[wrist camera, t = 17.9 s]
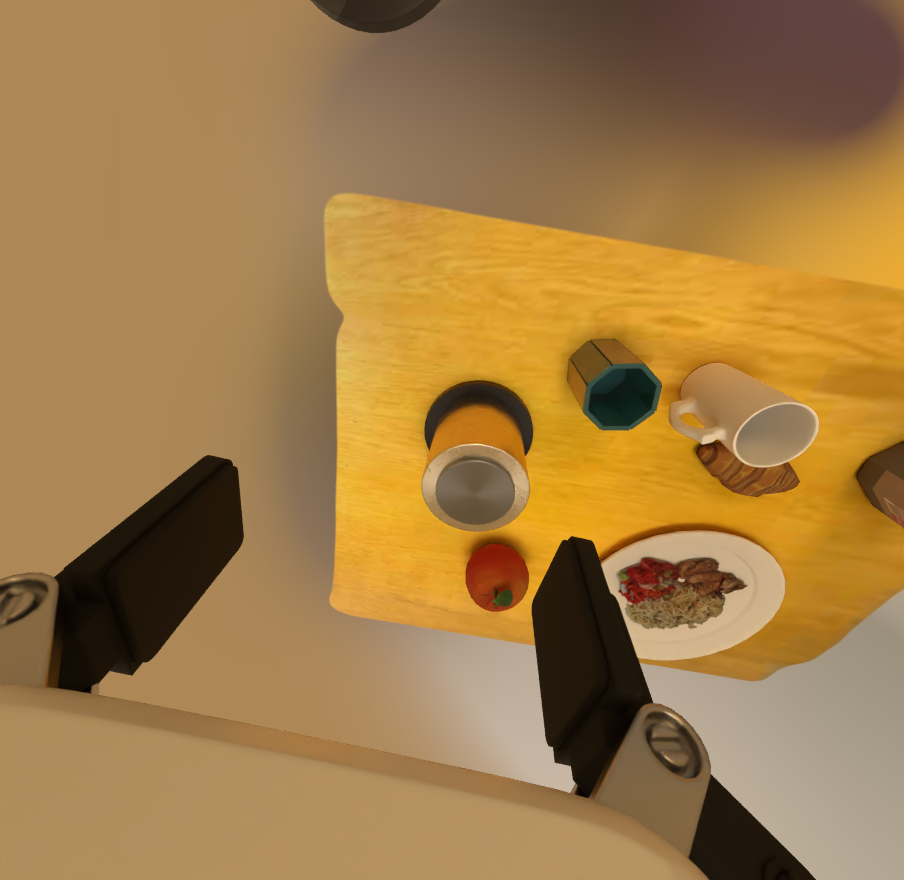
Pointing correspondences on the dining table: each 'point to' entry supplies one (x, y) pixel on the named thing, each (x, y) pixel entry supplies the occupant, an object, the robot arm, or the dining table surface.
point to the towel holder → (477, 456)
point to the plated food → (693, 592)
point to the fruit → (496, 577)
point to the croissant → (746, 472)
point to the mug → (744, 416)
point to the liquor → (886, 482)
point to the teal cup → (612, 385)
